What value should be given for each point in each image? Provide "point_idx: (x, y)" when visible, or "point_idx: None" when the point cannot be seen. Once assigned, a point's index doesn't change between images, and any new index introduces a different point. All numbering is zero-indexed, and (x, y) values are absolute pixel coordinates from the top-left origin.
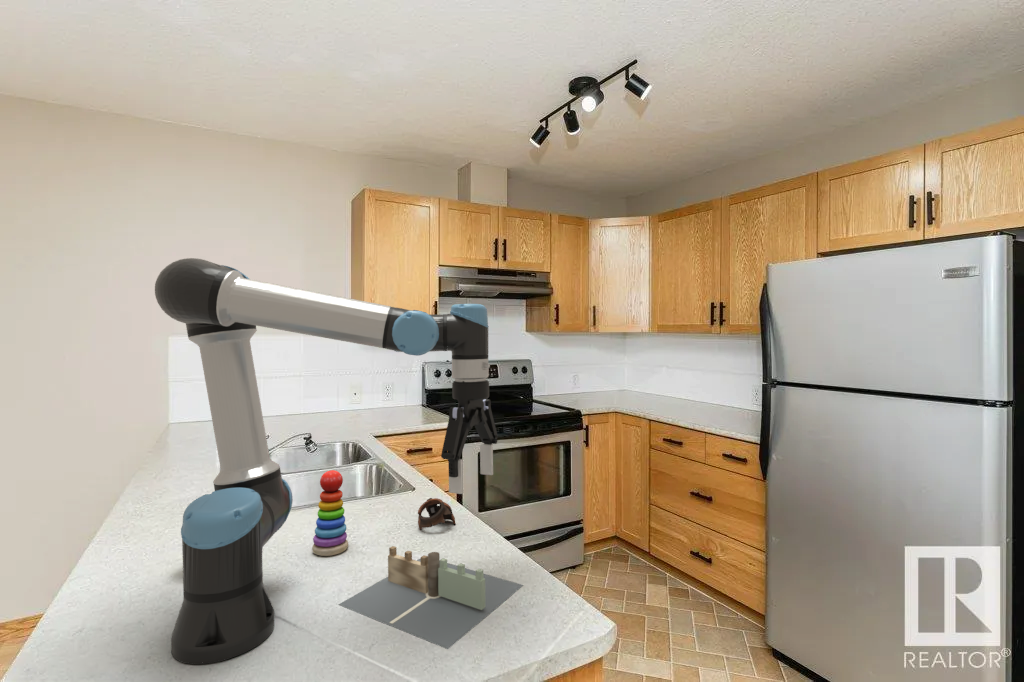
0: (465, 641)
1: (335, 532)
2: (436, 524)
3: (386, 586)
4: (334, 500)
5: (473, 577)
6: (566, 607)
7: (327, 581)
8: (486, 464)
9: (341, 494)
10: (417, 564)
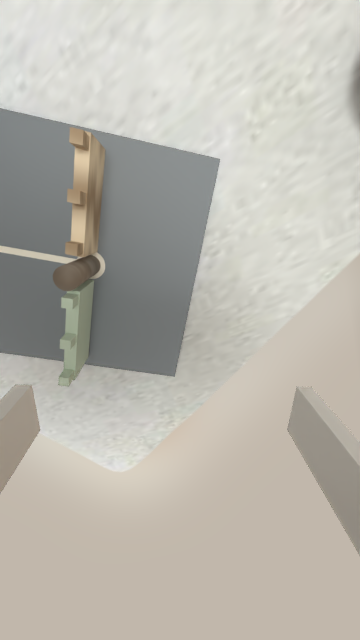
0: (20, 357)
1: None
2: None
3: (73, 158)
4: None
5: (68, 362)
6: (147, 432)
7: None
8: (314, 445)
9: None
10: (71, 232)
